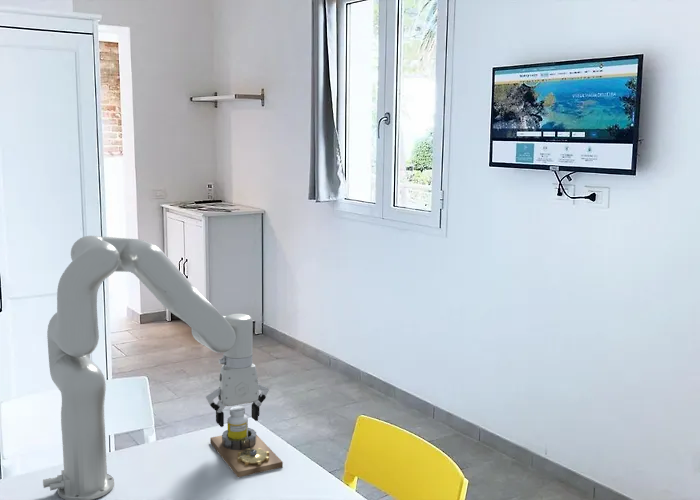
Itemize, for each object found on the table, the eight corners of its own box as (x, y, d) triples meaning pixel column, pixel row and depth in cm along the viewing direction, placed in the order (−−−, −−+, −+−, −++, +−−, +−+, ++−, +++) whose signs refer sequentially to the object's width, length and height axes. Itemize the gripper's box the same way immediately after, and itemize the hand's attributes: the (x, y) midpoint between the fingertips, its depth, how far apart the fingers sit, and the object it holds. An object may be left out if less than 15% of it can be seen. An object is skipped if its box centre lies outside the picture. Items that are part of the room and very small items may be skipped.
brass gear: (243, 468, 177) (243, 461, 177) (232, 455, 184) (232, 447, 184) (274, 461, 181) (274, 454, 181) (262, 448, 188) (262, 441, 188)
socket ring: (229, 452, 186) (228, 443, 185) (218, 439, 193) (218, 430, 193) (260, 445, 190) (260, 437, 190) (249, 433, 198) (248, 424, 197)
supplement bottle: (232, 437, 195) (231, 404, 193) (250, 439, 194) (250, 405, 192) (224, 446, 189) (224, 411, 188) (243, 448, 188) (243, 413, 187)
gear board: (238, 477, 176) (237, 471, 175) (210, 442, 195) (210, 437, 194) (282, 467, 181) (282, 461, 181) (251, 434, 200) (251, 429, 200)
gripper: (210, 369, 180) (211, 433, 183) (273, 360, 189) (273, 421, 191) (202, 360, 187) (202, 422, 190) (263, 352, 195) (262, 412, 198)
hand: (237, 422), depth 190 cm, fingers open, 9 cm apart
